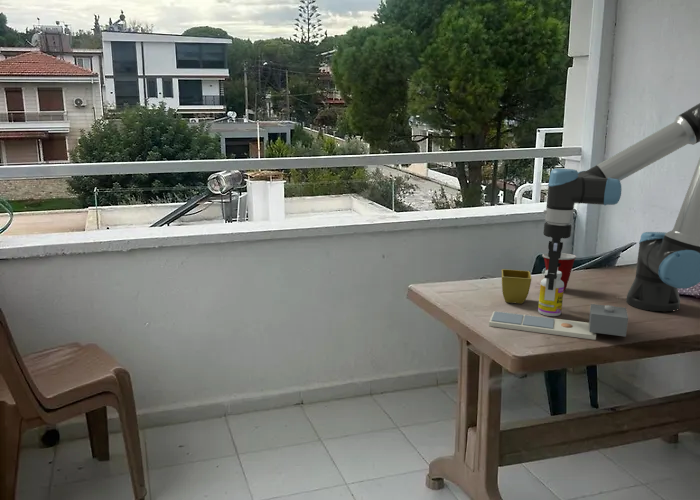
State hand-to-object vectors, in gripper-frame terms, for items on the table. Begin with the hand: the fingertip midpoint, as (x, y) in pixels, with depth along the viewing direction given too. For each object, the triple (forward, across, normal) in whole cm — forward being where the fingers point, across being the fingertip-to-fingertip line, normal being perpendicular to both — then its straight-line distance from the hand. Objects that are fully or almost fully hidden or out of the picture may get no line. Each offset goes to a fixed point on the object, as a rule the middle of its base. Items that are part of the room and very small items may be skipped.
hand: (550, 293), depth 190 cm
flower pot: (+6, -8, -11) cm, 15 cm away
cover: (+4, +13, +16) cm, 21 cm away
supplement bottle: (+6, 0, 0) cm, 6 cm away
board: (+6, +13, -1) cm, 14 cm away
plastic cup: (+6, -27, +1) cm, 28 cm away
